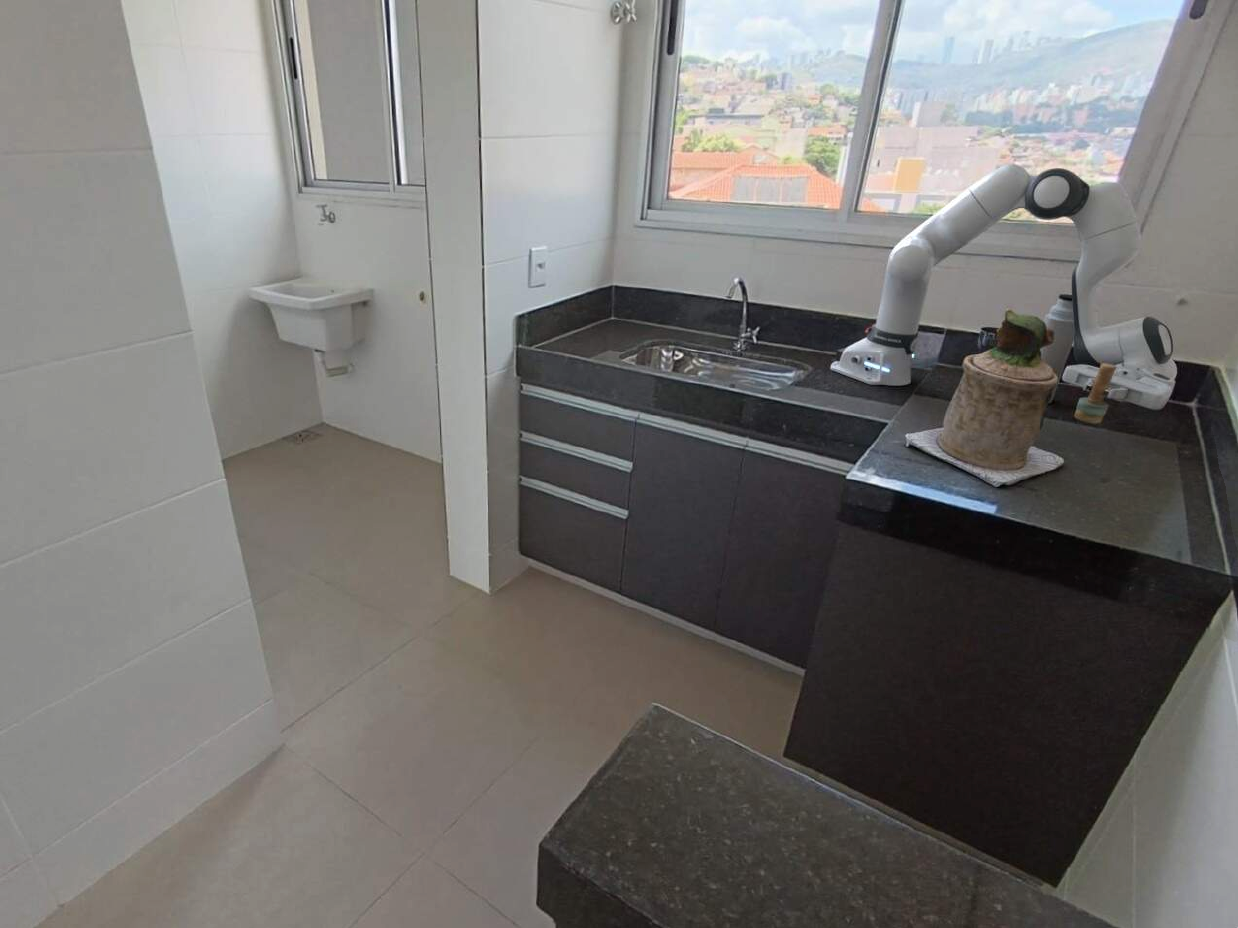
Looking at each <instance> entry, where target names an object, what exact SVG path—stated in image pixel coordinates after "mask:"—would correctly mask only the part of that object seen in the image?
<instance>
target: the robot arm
mask: <svg viewBox="0 0 1238 928" xmlns="http://www.w3.org/2000/svg"><path fill="white" fill-rule="evenodd" d="M1018 209H1024V210H1026V211H1027V212H1029V213H1030V214H1031V216H1033V217H1035V218H1036V219H1038V220H1043V221H1053V220H1057V219H1060V218H1068V219H1070V220H1071V221H1072V222H1073V224H1074V225H1075V226H1074V227H1075V228H1076V232H1077V235H1078V238H1079V241H1080V249H1081V250H1080V258H1079V261H1078V264H1077V265H1076V266H1075V267H1074V268H1073V270H1072V274H1071V295H1072V303H1073V317H1074V342H1073V347H1072V348H1073V351H1072V352H1073V357H1074V360H1075V362H1076V363H1077V364H1072V365H1067V366H1066V367H1065V368H1064V370H1063V373H1062V376H1061V379H1062V381H1063V382H1064V383H1066V384H1070V385H1074V386H1076V387H1079V388H1082V391H1085V392H1088V393H1090V391H1091V389H1092V386H1093V384H1094V381H1095V379H1096V376H1097V374H1098V371H1099V369H1100V366H1101V364H1103V363H1106V364H1112V365H1114V366H1116V370H1115V372H1114V375H1113V377H1112V380H1111V382H1110V384H1109V387H1108V389H1105V391H1104V394H1103V397H1104V398H1107V399H1112V400H1114V401H1116V402H1121V403H1129V404H1133V405H1136V406H1139V407H1142V408H1146V409H1148V410H1151V411H1152V410H1153V411H1160V410H1162V409H1164V407H1165V406H1166V405H1167V403H1168V402H1169V399H1170V398H1171V396H1172V394H1173V391H1174V389H1175V384H1176V380H1175V379H1176V378H1177V374H1178V368H1177V364H1176V363H1175V361H1174V359H1172V358H1171V357H1172V355H1173V353H1174V342H1173V337H1172V332H1171V330H1170V329H1169V327H1168V326H1167V325H1166V324H1164V323H1163V322H1162V321H1160V320H1159V319H1158V318H1155V317H1153V316H1145V317H1140V318H1136V319H1131V320H1127V321H1124V322H1120V323H1116V324H1112V325H1108V326H1103V327H1101V326H1100V324H1099V314H1098V313H1099V312H1098V311H1099V310H1098V292H1099V289H1100V287H1101V286H1102V285H1103V283H1104V282H1105V281H1107V280H1108V279H1109V278H1110V277H1112V276H1114V275H1115V274H1117V273H1118V272H1119V271H1120V270H1121V271H1122V269H1123V268H1125V267H1126V266H1128V265H1129V264H1130V263H1131V262H1132V261H1133V259H1135V258H1136V256H1137V254H1138V253H1139V251H1140V249H1141V246H1142V235H1141V230H1140V224H1139V221H1138V217H1137V214H1136V212H1135V209H1134V206H1133V204H1132V201H1131V199H1130V197H1129V195H1128V193H1127V191H1126V190H1125V188H1124V186H1123V185H1122V184H1120V183H1119V182H1116V181H1105V182H1104V181H1103V182H1099V183H1097V184H1094V185H1089V184H1088V183H1087V182H1086V181H1084V180H1083V179H1081V178H1080V177H1079V176H1078V175H1077V174H1076V173H1074V172H1073V171H1071V170H1069V169H1066V168H1062V167H1061V168H1060V167H1055V168H1049V169H1046V170H1044V171H1042V172H1040V173H1038V174H1037V175H1031V174H1030V173H1029V172H1028V171H1027V170H1026V169H1025V168H1024V167H1022V166H1021V165H1019V164H1016V163H1007V164H1004V165H1002V166H999V167H998V168H996V169H994V170H993V171H991V172H989V173H988V174H986V175H985V176H983V177H981V178H980V179H978V181H976V182H974V183H973V184H972V185H970V186H969V188H967V189H965V190H964V191H963V192H962V193H960V194H959V195H958V196H956V197H955V198H954V199H953V200H951V201H950V202H949V203H947V204H946V205H945V206H943V207H942V208H941V209H940V210H939V211H937V212H936V213H935V214H933V215H931V216H930V218H928V219H927V220H925V221H924V222H923V223H922V224H920V225H919V226H918V227H916V228H915V229H914V230H913V231H911V232H910V233H908V234H907V235H905V236H904V237H903V238H902V239H900V241H899V242H898V243H897V244H896V245H895V246H894V247H893V249H892V250H891V252H890V253H889V255H888V259H887V264H886V270H885V274H884V281H883V287H882V291H881V292H882V294H881V299H880V304H879V308H878V313H877V318H876V321H875V323H874V324H872V326H869V327H868V328H866V329H865V334H866V337H864V338H862V339H861V340H858V341H856V342H854V343H853V344H850V345H849V346H847V347H844V348H840V349H838V350H836V354H835V360H836V361H835V360H834V361H833V362H832V363H831V364H830V367H829V369H830V371H833V372H836V373H838V374H841V375H844V376H846V377H849V378H851V379H855V380H857V381H859V382H862V383H864V384H868V385H870V386H871V385H872V386H880V385H881V386H882V385H883V386H891V387H892V386H894V387H895V386H898V387H899V386H906V385H909V384H911V382H912V360H913V358H914V357H915V354H914V352H915V350H916V347H917V344H918V337H919V332H918V329H919V327H920V322H921V319H922V315H923V310H924V307H925V302H926V297H927V292H928V289H929V285H930V280H931V275H932V273H933V269H934V267H935V266H937V265H938V264H940V263H941V262H942V261H944V260H946V259H947V258H948V257H949V256H951V255H953V254H954V253H956V252H957V251H959V250H960V249H962V248H963V247H966V246H967V245H968V244H970V243H971V242H972V241H973V240H975V239H977V237H979V236H980V235H981V234H983V233H984V232H985V231H987V230H988V229H990V228H991V227H992V226H994V225H995V224H996V223H998V222H999V221H1000V220H1002V219H1003V218H1005V217H1006V216H1008V215H1009V214H1011V213H1012V212H1014V211H1016V210H1018Z"/></svg>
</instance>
